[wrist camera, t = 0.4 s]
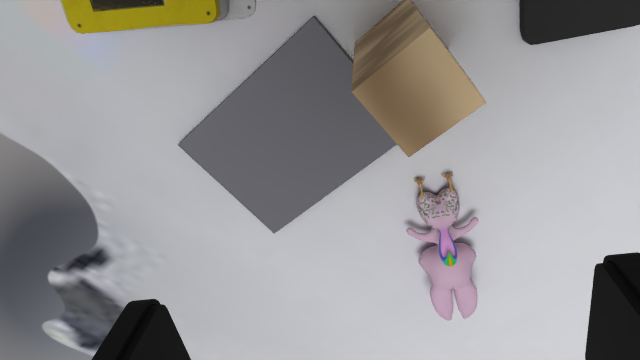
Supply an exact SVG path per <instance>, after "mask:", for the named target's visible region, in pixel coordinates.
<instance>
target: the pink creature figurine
mask: <svg viewBox="0 0 640 360" xmlns="http://www.w3.org/2000/svg"><path fill="white" fill-rule="evenodd" d="M441 175H442V174H441ZM452 175H453V174H452V173H451V174H448V172H447V174H446V175H442V176H443V177H446V179H447V180H448V182H449V188H445V189H443V190H441V191H440V193H439V194H438V195H434V194H432V193H430V192H423V190H422V181H423V180H424V179H425V177H424V179H419V178H418V180H415V179H414V181H415V182H416V183H417V184H418V185H419V188H420V191H421V193H420V195H419V196H418V198H417V207H418V211H419V213H420V215H421V217H422V219H423V220H424V221H425V222H426V224H427V225H429V226H430V227H432V228H431V231H430V232H428V233H418V232H416V231H414V230H413V229H412V228H408V229H407V230H406V232H407V233H408V234H409V235H411V236H413V237H415V238H417V239H420V240H423V241H427V242H433V243H436V244H437V245H436V246H433V247H429V248H427V249H426V250H424V251H423V252H422V254H421V255H420V257H419V264H420V265H421V267H422V268H423V269H424V270H425V272H426V273H427V274H428V276H429V277H430V279H431V281H432V286H431V290H430V296H431V301H432V303H433V306H434V308H435V310H436V312H437V313H438V314H439V315H440V316H441V317H442V318H444V319H446V320H449V321H450V320H451V319H452V313H453V299H452V292H451V289H453V288H454V291H455V297H456V301H457V306H458V309H459V311H460V313H461V314H462V317H463V318H464V319H466V318H468V317H469V316H470V315H472V313H473V312H474V311H475V309H476V306H477V289H476V286H475V285H474V283H473V282H472V280H471V278H470V275H471V269H472V266H473V263H474V260H475V258H476V252H475V251H474V249H472V248H471V247H470V246H468V245H466V244H464V243H454V242H453V241H454V240H455V239H457V238H459V237H461V236H462V235H464V234H466V233H467V232H469V231H470V230H471V229H472V228H473V227H474V226H475V225H476V224H477V223H478V218H476V217H474V218H472V219H471V221H470V222H469V224H467V225H466V226H464V227H461V228H455V227H453V226H452V224H453V223H454V222H455V221H456V219H457V217H458V214H459V198H458V194H457V192H456V191H455V190H453V188H452V185H451V176H452Z"/></svg>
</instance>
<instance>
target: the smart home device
mask: <svg viewBox="0 0 640 360" xmlns="http://www.w3.org/2000/svg"><path fill="white" fill-rule="evenodd" d="M636 25H640V0H520V32H521V36H522V38H523V40H524V41H525V42H527V43H528V44H530V45H534V44H541V43H546V42H552V41H557V40H562V39H568V38H573V37H578V36H584V35H589V34H594V33H600V32H605V31H611V30H616V29H621V28H627V27H632V26H636Z"/></svg>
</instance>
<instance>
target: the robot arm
mask: <svg viewBox="0 0 640 360" xmlns="http://www.w3.org/2000/svg"><path fill="white" fill-rule="evenodd" d="M585 359H586V360H640V253H638V252H637V253H626V254H616V255H608V256H606V257H605V258H604V261H603V263H600V264H596V266H595V270H594V279H593V289H592V298H591V307H590V316H589V326H588V335H587V344H586V353H585ZM92 360H191V359H190V357H189V354H188V352H187V350H186V348H185V346H184V344H183V342H182V339H181V337H180V335H179V333H178V331H177V329H176V327H175V324H174V322H173V320H172V318H171V316H170V314H169V311H168V309H167V308H166V306H165V305H161V304H160V303H159V301H158V300H156V299H148V300H138V301H131V302H129V303H128V304H127V305H126V307H125V308H124V310H123V311H122V313H121V314H120V316H119V318H118V319H117V321H116V322H115V324H114V325H113V327H112V329H111V330H110V332H109V333H108V335H107V336H106V338H105V340H104V341H103V343H102V344H101V346H100V347H99V349H98V351H97V352H96V354H95V355H94V357H93V359H92Z"/></svg>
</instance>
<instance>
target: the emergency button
mask: <svg viewBox="0 0 640 360" xmlns="http://www.w3.org/2000/svg"><path fill="white" fill-rule="evenodd" d="M60 1H61V4H62V7H63V10H64V13H65V15H66V18H67V21H68V23H69V25H70V27H71V28H72V29H73V30H74V31H76V32H77V33H82V34H84V33H96V32H108V31H120V30H133V29H145V28H157V27H169V26H181V25H193V24H205V23H212V22H214V21H217V20H229V19H241V18H246V17H249V16H251V15H252V13H253V12H254V11H255V7H256V0H60Z"/></svg>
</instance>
